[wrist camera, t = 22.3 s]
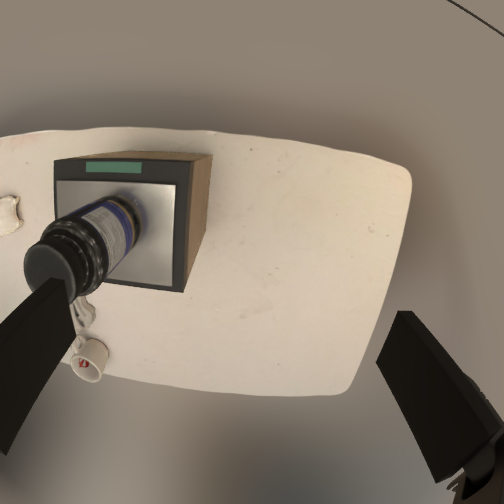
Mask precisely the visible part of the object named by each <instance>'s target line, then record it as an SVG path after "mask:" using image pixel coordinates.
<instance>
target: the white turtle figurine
mask: <svg viewBox="0 0 504 504" xmlns="http://www.w3.org/2000/svg"><path fill="white" fill-rule="evenodd" d="M19 201H20V199H19V197H17V198H15V199H14V198H13V197H12V196H6V197H4V198H2V199H0V236H4V235H7V234H9V233H12V232H13V231H15V230H16V229H17V228H18V227H20V225H22V224H23V220H19V219H18V217H17V213H16V204H17V203H18V202H19Z"/></svg>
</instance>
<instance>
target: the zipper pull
mask: <svg viewBox="0 0 504 504" xmlns="http://www.w3.org/2000/svg"><path fill="white" fill-rule="evenodd" d="M69 306H70V310H71V315H72V319H73V324H74V328H75V330H87V329H88V328H89V327H90V325H91V324H92V323H93V321H94V319H95V315H96V312H95V308H94V307H93V306H92V305H91V304H89V303H88V302H87V300H86V296H80V297H77V298H76V299H75V300H74V301H73V303H72V304H70V305H69Z"/></svg>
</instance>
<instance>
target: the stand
mask: <svg viewBox="0 0 504 504" xmlns="http://www.w3.org/2000/svg"><path fill="white" fill-rule="evenodd" d="M73 158H144V159H168V160H185V161H194V171H193V183H192V195H191V209H190V224H189V243H188V266H187V280H188V278H189V275H190V272H191V269H192V266H193V264H194V261H195V258H196V255H197V253H198V250H199V247H200V245H201V242H202V239H203V237H204V234H205V231H206V219H207V207H208V195H209V185H210V174H211V165H212V155H206V154H193V153H176V152H154V151H120V152H111V153H102V154H94V155H87V156H80V157H73ZM67 159H68V158H67Z"/></svg>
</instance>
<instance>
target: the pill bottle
mask: <svg viewBox="0 0 504 504" xmlns="http://www.w3.org/2000/svg"><path fill="white" fill-rule="evenodd" d="M135 239H136V225H135V221H134V218H133V216H132V214H131V213H130V211H129V210H128V209H127V208H126V207H125V206H124V205H123V204H122V203H120V202H118V201H116V200H112V199H106V198H104V199H99V200H96V201H94V202H91V203H89V204H87V205H85V206H83V207H81V208H79V209H77V210H75V211H73V212H71V213H69V214H67V215H65V216H63V217H61V218H59V219H57V220H56V221H54V222H52V223H51V224H49V225H48V227H46V229H45V230H44V232H43V233H42V236H41V238H40V241H38V242H37V243H36V244H34V245H33V246H31V247H30V248H29V249H28V251H27V253H26V255H25V258H24V274H25V278H26V281H27V283H28V285H29V287H30V289H31V291H32V292H34V291H35V290H36V289H37V288H38V287H40V286H41V285H42V284H43V283H44V282H45V281H46V280H47V279H49V278H50V277H52V278H58V279H63V280H65V284H66V290H67V295H68V301H69V305H70V304H72V303H73V301H74V300H75V299H76V298H77V297H80V296H86V295H88V294H91V293H92V292H93V291H95V290H96V289H97V288H98V287H99V286H100V285H101V283H102V282H103V281H104V280H105V279H106V278H107V276H108V275H109V274H110V273H111V272H112V271H113V270H114V268H115V267H116V266H117V265H118V264H119V263H120V262H121V260H122V259H123V258H124V257H125V256H126V255H127V254H128V253H129V251H130V250H131V249H132V247H133V245H134V242H135Z"/></svg>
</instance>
